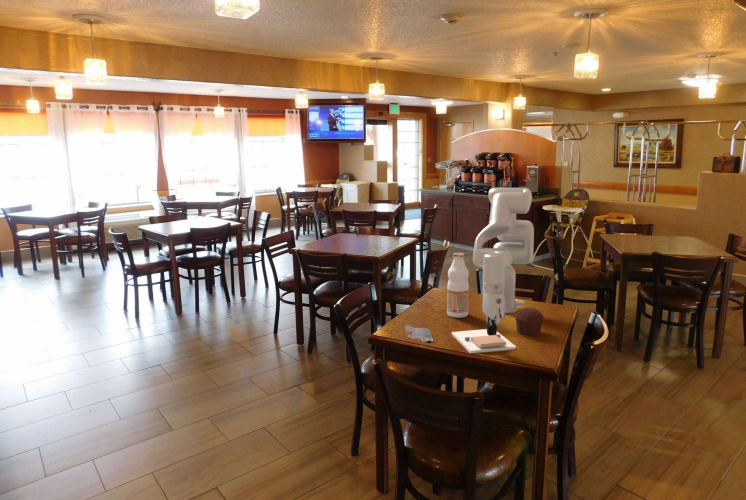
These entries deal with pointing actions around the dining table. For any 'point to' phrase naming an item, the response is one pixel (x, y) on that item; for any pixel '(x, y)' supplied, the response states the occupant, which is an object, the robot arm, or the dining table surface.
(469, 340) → the board
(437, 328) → the dining table surface
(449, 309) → the fruit juice
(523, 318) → the muffin
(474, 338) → the tile
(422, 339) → the stone slab
